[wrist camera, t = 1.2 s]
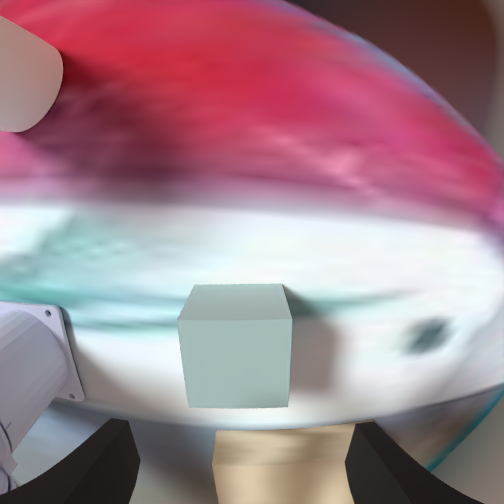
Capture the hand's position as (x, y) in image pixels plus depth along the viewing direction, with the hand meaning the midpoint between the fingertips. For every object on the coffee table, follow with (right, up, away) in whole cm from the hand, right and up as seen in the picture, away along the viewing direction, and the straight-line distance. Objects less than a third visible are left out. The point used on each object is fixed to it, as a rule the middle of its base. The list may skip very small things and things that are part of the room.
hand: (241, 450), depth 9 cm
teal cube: (0, +2, +10) cm, 11 cm away
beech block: (+4, -13, +14) cm, 19 cm away
